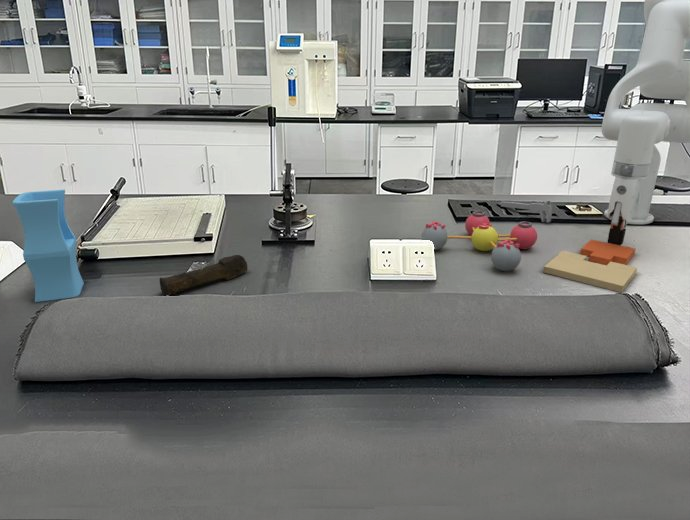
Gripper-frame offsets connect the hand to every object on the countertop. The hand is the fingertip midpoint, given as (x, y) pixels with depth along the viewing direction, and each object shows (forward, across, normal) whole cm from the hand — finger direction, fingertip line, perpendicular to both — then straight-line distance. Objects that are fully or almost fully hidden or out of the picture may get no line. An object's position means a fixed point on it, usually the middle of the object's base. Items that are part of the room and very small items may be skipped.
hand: (614, 243), depth 130 cm
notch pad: (+1, -20, 0) cm, 20 cm away
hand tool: (+1, -76, +61) cm, 98 cm away
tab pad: (+1, -7, 0) cm, 8 cm away
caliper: (+1, +12, +28) cm, 30 cm away
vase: (+2, -97, +81) cm, 126 cm away
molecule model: (+1, -22, +24) cm, 33 cm away
